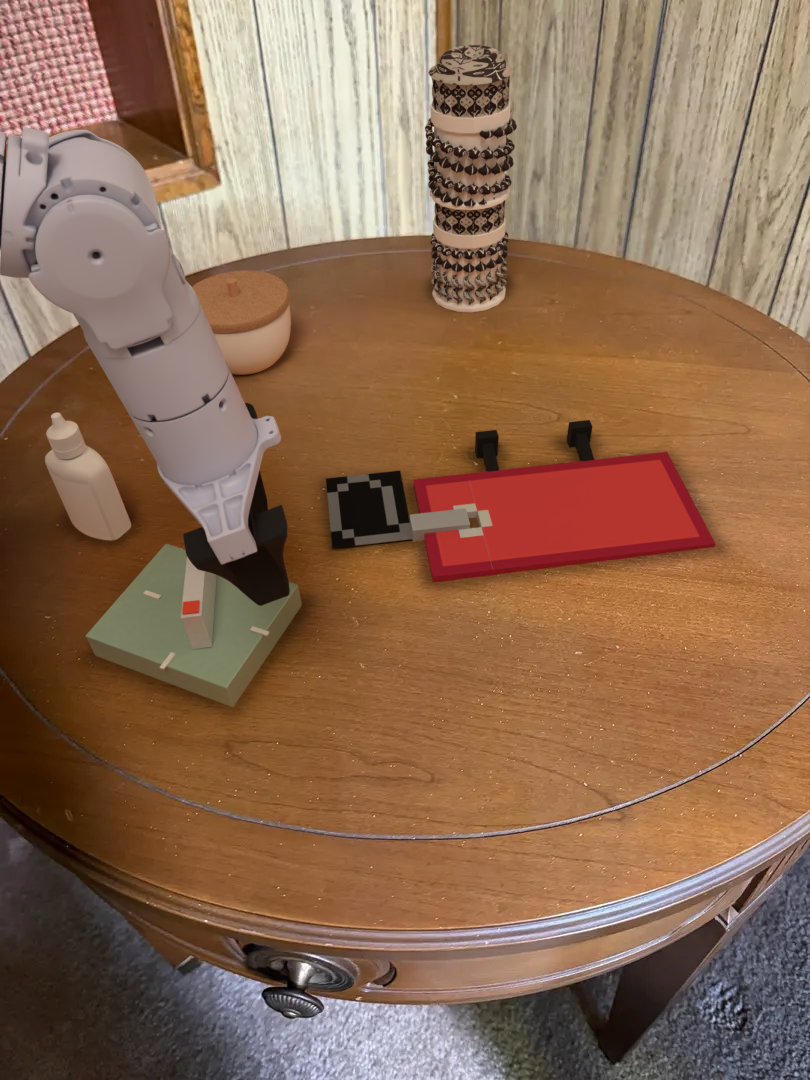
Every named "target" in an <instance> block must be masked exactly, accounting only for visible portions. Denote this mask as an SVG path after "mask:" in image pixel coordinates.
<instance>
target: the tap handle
mask: <svg viewBox="0 0 810 1080" xmlns="http://www.w3.org/2000/svg"><path fill="white" fill-rule="evenodd" d="M216 580H217V579H216V576H215V574H213V573H210V572H205V571H201V570H198V569H197V568H196V567H195V566H194V565H193V564H192V563H191V562H190V560H189V558H188V557H187V560H186V570H185V579H184V589H183V599H182V609H181V620H182V623H183V626H184V628H185V631H186V634H187V636H188V639H189V642H190V644H191V647H192V649H199V648H208V647H212V640H213V625H214V610H215V595H216Z"/></svg>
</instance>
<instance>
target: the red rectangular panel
mask: <svg viewBox="0 0 810 1080" xmlns="http://www.w3.org/2000/svg"><path fill="white" fill-rule="evenodd" d="M592 433H593V424H592V422H591V420H590V419H584V420H577V421H569V422H568V427H567V433H566V434H567V435H566V440H565V441H566V443H567V446H568V448H576V451H577V455H578V458H579V461H570V462H561V463H552V464H543V465H534V466H524V467H515V468H507V469H500V468H499V463H498V459H497V458H498V453H499V437H500V436H499V433H498V430H497V429H490V430H482V431H475V437H474V439H475V441H474V444H475V445H474V453H475V457H476V459H483V462H484V467H485V471H479V472H469V473H461V474H452V475H451V474H450V475H441V476H433V477H425V478H414V479H413V482H412V483H413V491H414V496H415V501H416V506H417V510H418V513H412V514H411V513H410V514H409V510H408V506H407V505H408V504H407V500H406V495H405V490H404V483H403V478H402V473H401V470H393V471H392V470H391V471H383V472H381V471H380V472H374V473H364V474H363V473H362V474H354V475H346V476H336V477H335V476H334V477H327V478H325V484H326V485H325V486H326V495H327V506H328V507H327V509H328V518H329V527H330V539H331V548H332V549H336V548H338V549H339V548H345V547H352V546H353V547H354V546H355V547H356V546H363V545H371V544H379V543H389V542H397V541H406V540H407V541H408V540H412V542H413V543H414V542H421V541H424V545H425V546H424V547H425V550H426V555H427V560H428V565H429V570H430V575H431V581H432V583H441V582H447V581H448V582H449V581H456V580H465V579H472V578H481V577H488V576H495V575H504V574H512V573H513V574H514V573H521V572H527V571H537V570H544V569H550V568H551V569H552V568H559V567H568V566H574V565H582V564H592V563H599V562H607V561H613V560H614V561H615V560H622V559H629V558H638V557H646V556H654V555H661V554H671V553H676V552H677V553H678V552H684V551H693V550H700V549H708V548H709V549H710V548H715V546H716V542H715V540H714V537H713V536H712V534H711V532H710V530H709V529H708V526H707V524H706V523H705V521H704V519H703V517H702V515H701V513H700V512H699V511H700V510H699V509H698V508H697V505H696V504H695V502H694V500H693V498H692V496H691V494H690V492H689V490H688V489H687V487H686V485H685V483H684V480H683V479H682V477H681V475H680V474H679V471H678V469H677V468H676V466H675V464H674V462H673V460H672V458H671V457H670V455H669V453H668V451H662V452H661V451H660V452H652V453H642V454H634V455H624V456H616V457H607V458H598V459H596V458H595V459H594V454H593V451H592V446H591V439H592ZM470 519H476V521H477V524H478V527H471V522H470Z"/></svg>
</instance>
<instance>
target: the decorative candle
mask: <svg viewBox="0 0 810 1080" xmlns="http://www.w3.org/2000/svg"><path fill="white" fill-rule="evenodd" d="M513 73H514V67H513V66H512V65H511V64H510V63H509V62H507V61H506V59H505V57H504V55H503V54H502V53H501V52H500V51H499V50H498V49H496V48H494V47H491V46H488V45H480V44H467V45H459V46H455V47H451V48H449V49H448V50H446V51H444V52H443V53H442V54H441V55H440V57H439V59H438V61H437V63H436V64H435V65H433V66H431V67H430V68H429V70H428V73H427V74H428V75H429V77H431V82H432V86H431V96H432V97H431V98H432V101H431V104H430V107H429V109H430V117H429V118H428V121H427V123H426V125H425V126H424V131H425V138H426V140H425V145H426V147H425V153H426V154H427V155H429V159H428V161H427V167H428V169H427V173H428V174H429V175H428V182H427V186H428V188H429V189H430V190H429V196H430V198H431V199H432V201H433V202H434V211H433V212H434V217H433V221H432V225H433V226H432V233H431V236H430V237H431V238H430V241H429V242H430V244H431V246H432V248H431V251H432V252H431V253H430V257H431V258H432V259H433V260H432V263H431V267H430V272H431V275H432V276H431V277H432V278H431V281H430V282H431V286H432V288H433V289H432V293H431V295H432V298H433V299H434V301H435V303H436V304H438V305H439V306H440V307H442V308H443V309H446V310H449V311H453V312H457V313H478V312H483V311H487V310H491V309H492V308H495V307H497V306H498V305H500V303H502V302H503V301H504V300H505V297H506V291H507V288H506V285H507V281H506V280H505V279H507V277H508V275H507V274H506V273H507V272H508V268H507V267H506V266H508V262H507V260H506V258H507V257H508V246H507V245H508V243H509V233H508V232H507V231H506V229H507V216H506V200H507V199H508V198H509V197H510V191H511V185H512V179H511V176H510V175H508V174H506V172H507V171H509V170H510V169H511V168H512V167H513V166H514V158H513V157H512V156H511V154H512V152H513V151H514V150H515V147H516V146H515V144H514V142H513V140H512V139H510V138H508V136H509V135H511V134H512V133H513V132H514V131H516V130H517V129H518V125H517V122H516V120H515V119H513V118H512V117H511V113H512V112H513V110H512V109H511V107H512V105H511V104H512V101H511V100H510V87H511V86H510V84H511V75H513Z"/></svg>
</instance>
